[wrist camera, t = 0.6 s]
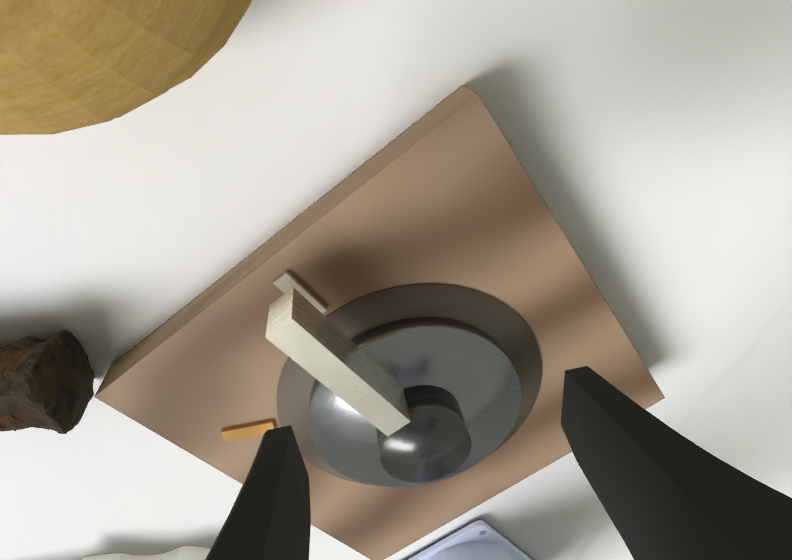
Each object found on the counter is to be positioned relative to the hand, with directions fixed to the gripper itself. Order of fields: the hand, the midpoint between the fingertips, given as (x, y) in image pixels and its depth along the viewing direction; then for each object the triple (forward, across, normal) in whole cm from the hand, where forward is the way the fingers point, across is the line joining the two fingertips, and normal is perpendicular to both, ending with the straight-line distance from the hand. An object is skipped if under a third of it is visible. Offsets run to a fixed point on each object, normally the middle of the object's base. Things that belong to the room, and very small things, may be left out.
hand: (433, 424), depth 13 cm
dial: (+8, +1, +6) cm, 10 cm away
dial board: (+10, 0, +8) cm, 13 cm away
